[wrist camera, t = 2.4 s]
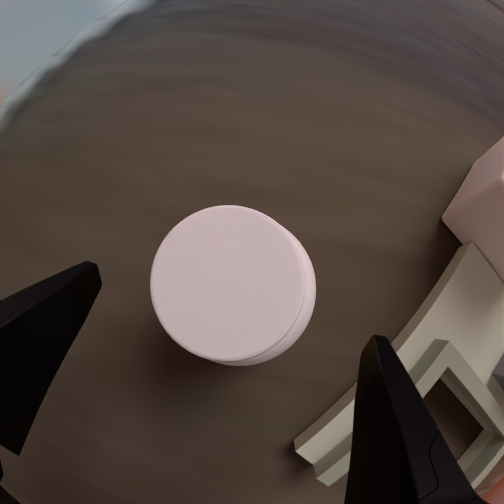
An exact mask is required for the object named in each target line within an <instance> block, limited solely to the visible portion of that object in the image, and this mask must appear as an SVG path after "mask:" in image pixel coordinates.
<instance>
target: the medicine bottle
mask: <svg viewBox="0 0 504 504" xmlns="http://www.w3.org/2000/svg"><path fill="white" fill-rule="evenodd" d="M442 221H443V222H444V223H445V224H446V226H447V227H448V228H449V229H450V230H451V231H452V232H453V234H454V235H455V236H456V237H457V238H458V240H459V241H460V242H461V243H462V244H463V245H465V244H468V243H470V242H473V244H474V245H475V246H476V247H477V249H478V250H479V251H480V253H481V254H482V255H483V256H484V258H485V259H486V260H487V262H488V263H489V264H490V266H491V267H492V268H493V270H494V271H495V273H496V274H497V275H498V277H499V278H500V280H501V281H502V283H503V284H504V137H503V138H502V139H501V140H500V141H498V142H497V143H496V144H495V145H494V146H493V147H492V148H491V149H489V150H488V151H487V152H486V153H485V154H484V155H483V156H481V157H480V158H479V159H478V160H477V161H476V162H474V164H473V166H472V168H471V169H470V171H469V173H468V175H467V176H466V178H465V180H464V182H463V183H462V185H461V187H460V188H459V190H458V192H457V193H456V195H455V197H454V198H453V200H452V201H451V203H450V204H449V206H448V208H447V209H446V211H445V212H444V214H443V215H442Z"/></svg>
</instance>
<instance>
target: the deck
mask: <svg viewBox="0 0 504 504" xmlns="http://www.w3.org/2000/svg"><path fill="white" fill-rule="evenodd" d="M391 345H392V347H393V348H394V350H395V352H396V353H397V355H398V357H399V358H400V360H401V362H402V363H403V365H404V367H405V368H406V370H407V372H408V374H409V375H410V377H411V379H412V381H413V382H414V384H415V386H416V388H417V389H418V391H419V393H420V395H421V396H422V398H423V397H424V396H425V395H426V394H427V392H428V391H429V390H430V389H431V388H432V386H433V385H434V384H435V383H436V381H437V380H438V379H439V378H440V379H441V380H442V381H443V382H444V383H445V384H446V386H447V387H448V388H449V389H450V390H451V391H452V392H453V393H454V395H455V396H456V397H457V398H458V399H459V400H460V401H461V403H462V404H463V405H464V406H465V407H466V408H467V409H468V411H469V412H470V413H471V414H472V415H473V417H474V418H475V419H476V420H477V421H478V422H479V424H480V425H481V426H482V427H483V428H484V429H483V430H482V432H481V433H480V434H479V435H478V437H477V438H476V439H475V441H474V442H473V443H472V444H471V445H470V447H469V448H468V449H467V450H466V451H465V452H464V454H463V455H462V456H461V457H460V458H459V459H458V460H457V463H458V464H459V466H460V467H461V469H462V471H463V472H464V474H465V476H466V477H467V479H468V481H469V482H470V484H471V486H472V487H473V489H475V488H476V487H477V485H478V484H479V483H480V482H481V481H482V480H483V479H484V478H485V477H486V475H487V474H488V473H489V472H490V471H491V469H492V468H493V467H494V466H495V465H496V463H497V462H498V461H499V460H500V458H501V457H502V456H503V454H504V284H503V283H502V281H501V280H500V278H499V277H498V275H497V274H496V273H495V271H494V270H493V268H492V267H491V266H490V264H489V263H488V262H487V260H486V259H485V258H484V256H483V255H482V254H481V253H480V251H479V250H478V249H477V247H476V246H475V245H474V244H473V242H470V243H468V244H465V245H463V246H460V247H459V248H458V250H457V252H456V253H455V255H454V257H453V258H452V260H451V261H450V263H449V265H448V266H447V268H446V269H445V271H444V273H443V274H442V276H441V277H440V279H439V280H438V282H437V283H436V285H435V286H434V288H433V289H432V290H431V292H430V293H429V295H428V296H427V298H426V299H425V300H424V302H423V303H422V305H421V306H420V307H419V309H418V310H417V311H416V313H415V314H414V315H413V317H412V318H411V319H410V321H409V322H408V323H407V325H406V326H405V327H404V328H403V330H402V331H401V332H400V333H399V335H398V336H397V337H396V338H395V339H394V341H393V342H392V343H391ZM356 387H357V382H356V383H355V384H354V385H353V386H352V387H351V388H350V389H349V390H348V391H347V392H346V393H345V394H344V395H343V396H342V397H341V398H340V399H339V400H338V401H337V402H336V403H335V404H334V405H333V406H332V407H331V408H330V409H329V410H328V411H326V412H325V413H324V414H323V415H322V416H321V417H320V418H319V419H318V420H317V421H315V422H314V423H313V424H312V425H311V426H310V427H309V428H307V429H306V430H305V431H304V432H303V433H301V434H300V435H299V436H298V437H297V438H295V439H294V445H295V451H296V452H297V453H298V454H300V455H301V456H302V457H303V458H305V459H306V460H307V461H309V462H310V463H312V464H313V466H314V470H315V475H316V478H317V479H318V480H320V481H321V482H323V483H324V484H325V485H327V486H330V485H331V484H332V483H334V482H335V481H336V480H338V479H339V478H340V477H341V476H343V475H344V474H345V473H347V472H348V471H349V464H350V454H351V444H352V432H353V417H354V401H355V394H356Z"/></svg>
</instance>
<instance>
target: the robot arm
mask: <svg viewBox="0 0 504 504" xmlns="http://www.w3.org/2000/svg"><path fill="white" fill-rule="evenodd" d="M101 286H102V281H101V277H100V273H99V269H98V266H97V265H96V264H95V263H92V262H89V261H85V262H82V263H80V264H78V265H76V266H73V267H71V268H69V269H66V270H64V271H62V272H60V273H58V274H55V275H53V276H51V277H49V278H47V279H44V280H42V281H40V282H38V283H36V284H34V285H31V286H29V287H27V288H25V289H23V290H21V291H19V292H17V293H15V294H13V295H11V296H9V297H7V298H5V299H4V300H0V445H2V446H3V447H5V448H6V449H8V450H9V451H11V452H13V453H14V454H16V455H18V456H19V455H20V453H21V450H22V448H23V445H24V443H25V440H26V438H27V435H28V433H29V430H30V428H31V426H32V423H33V421H34V419H35V416H36V414H37V412H38V409H39V407H40V405H41V403H42V401H43V399H44V397H45V395H46V392H47V390H48V388H49V386H50V384H51V382H52V380H53V378H54V376H55V375H56V373H57V371H58V369H59V367H60V365H61V363H62V361H63V359H64V357H65V356H66V354H67V352H68V350H69V348H70V347H71V345H72V343H73V341H74V340H75V338H76V336H77V334H78V333H79V331H80V329H81V327H82V326H83V324H84V322H85V320H86V318H87V316H88V314H89V312H90V309H91V307H92V305H93V303H94V301H95V299H96V297H97V295H98V293H99V291H100V289H101ZM437 428H438V426H437V424H436V422H435V420H434V418H433V417H432V415H431V413H430V411H429V409H428V407H427V405H426V404H425V402H424V400H423V398H422V396H421V395H420V393H419V391H418V389H417V388H416V386H415V384H414V382H413V381H412V379H411V377H410V375H409V374H408V372H407V370H406V368H405V367H404V365H403V363H402V362H401V360H400V358H399V357H398V355H397V353H396V352H395V350H394V348H393V347H392V345H391V344H390V342H389V340H388V339H387V338H386V337H385V336H380V335H373V336H372V337H371V338H370V340H369V341H368V343H367V345H366V346H365V348H364V349H363V351H362V354H361V358H360V366H359V373H358V381H357V387H356V394H355V401H354V417H353V432H352V444H351V454H350V464H349V473H348V481H347V488H346V495H345V501H344V504H489V503H487V502H486V501H484V500H483V499H482V498H480V497H479V496H478V494H477V493H476V492H475V490H474V489H473V487H472V486H471V484H470V482H469V481H468V479H467V477H466V476H465V474H464V472H463V471H462V469H461V467H460V466H459V464H458V463H457V461H456V459H455V457H454V456H453V454H452V452H451V451H450V449H449V447H448V445H447V443H446V441H445V439H444V437H443V436H442V434H441V432H440V430H439V429H437ZM2 477H3V470H2V466H1V461H0V481H1V479H2ZM0 504H20V503H19V502H18V501H17V500H16V499H14V498H13V497H12V496H11V495H10V494H9V493H8V492H7V491H6V490H5V489H4V488H3V487H1V486H0Z"/></svg>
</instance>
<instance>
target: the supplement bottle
mask: <svg viewBox="0 0 504 504" xmlns="http://www.w3.org/2000/svg"><path fill="white" fill-rule="evenodd" d="M150 292H151V299H152V303H153V307H154V310H155V313H156V315H157V317H158V319H159V321H160V323H161V325H162V326H163V328H164V329H165V331H166V332H167V333H168V334H169V335H170V336H171V338H172V339H173V340H174V341H175V342H177V343H178V344H179V345H180V346H181V347H183V348H184V349H186V350H187V351H189V352H191V353H193V354H195V355H197V356H200V357H202V358H205V359H209V360H211V361H213V362H216V363H220V364H224V365H230V366H248V365H254V364H258V363H262V362H265V361H267V360H270V359H272V358H274V357H276V356H278V355H280V354H281V353H283V352H284V351H285V350H287V349H288V348H289V347H290V346H291V345H292V344H293V343H294V342H295V341H296V340H297V339H298V338H299V337H300V335H301V334H302V333H303V331H304V330H305V328H306V326H307V324H308V322H309V320H310V318H311V315H312V312H313V309H314V304H315V297H316V282H315V275H314V270H313V267H312V264H311V261H310V259H309V257H308V255H307V253H306V251H305V249H304V248H303V246H302V245H301V243H300V242H299V241H298V240H297V239H296V238H295V237H294V236H293V235H292V234H291V233H290V232H289V231H288V230H286V229H285V228H284V227H282V226H281V225H280V224H278V223H277V222H276V221H274V220H273V219H271V218H270V217H268V216H267V215H265V214H263V213H261V212H258V211H256V210H253V209H250V208H246V207H241V206H232V205H225V206H215V207H210V208H207V209H203V210H201V211H198V212H196V213H194V214H192V215H190V216H189V217H187V218H185V219H184V220H183V221H181V222H180V223H179V224H177V225H176V226H175V227H174V228H173V229H172V230H171V231H170V232H169V234H168V235H167V236H166V237H165V239H164V240H163V242H162V244H161V245H160V247H159V249H158V251H157V254H156V256H155V259H154V262H153V265H152V270H151V278H150Z"/></svg>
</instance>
